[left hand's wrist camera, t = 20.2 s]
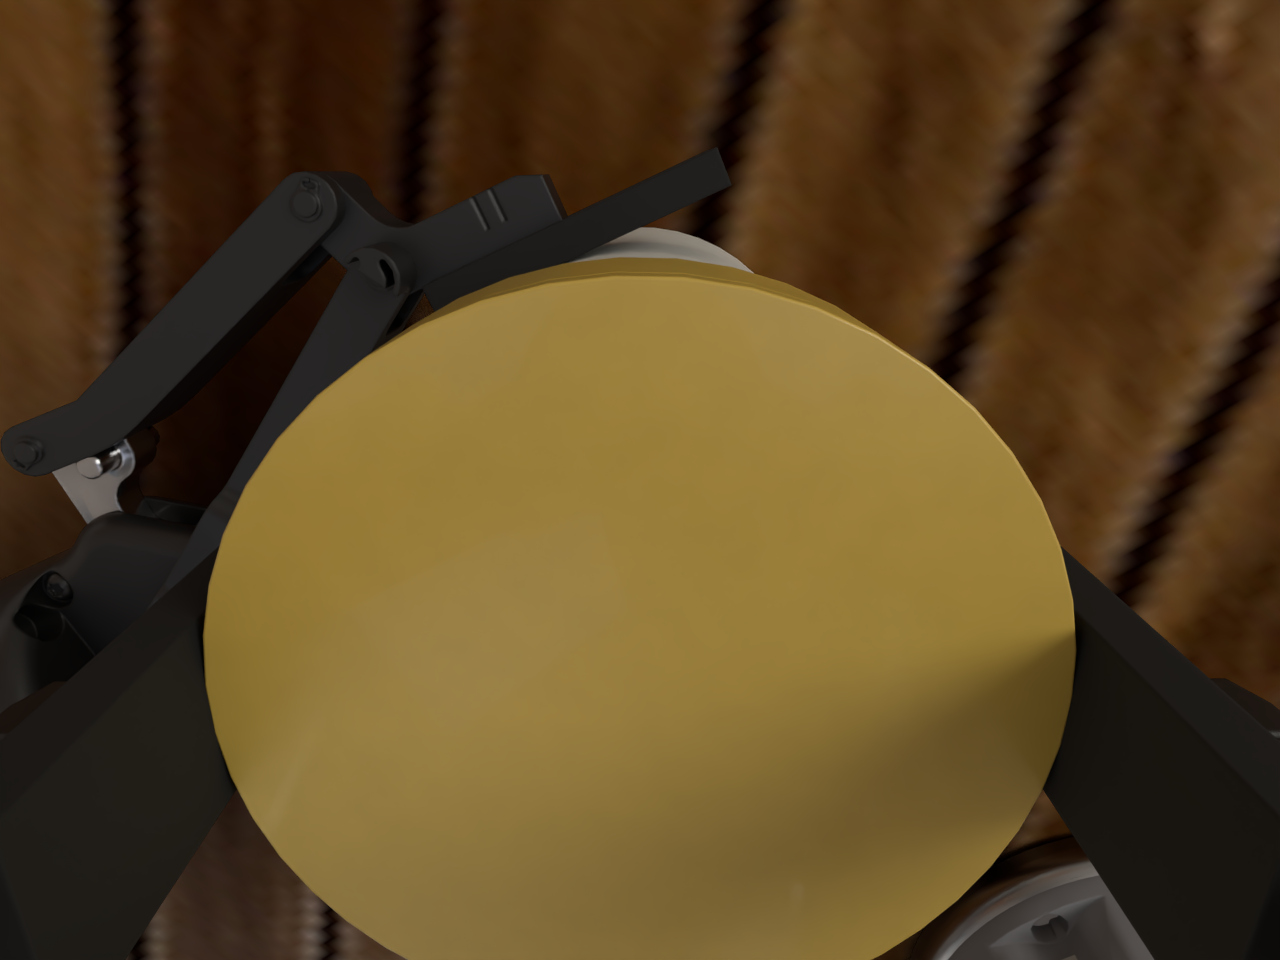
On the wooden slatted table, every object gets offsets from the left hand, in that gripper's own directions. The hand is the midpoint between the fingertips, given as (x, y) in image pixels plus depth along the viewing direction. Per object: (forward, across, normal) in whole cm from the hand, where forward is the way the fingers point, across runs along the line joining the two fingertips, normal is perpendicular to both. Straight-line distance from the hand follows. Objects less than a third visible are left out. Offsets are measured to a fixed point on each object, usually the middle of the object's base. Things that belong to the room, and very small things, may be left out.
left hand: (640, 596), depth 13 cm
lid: (-3, 0, 0) cm, 3 cm away
